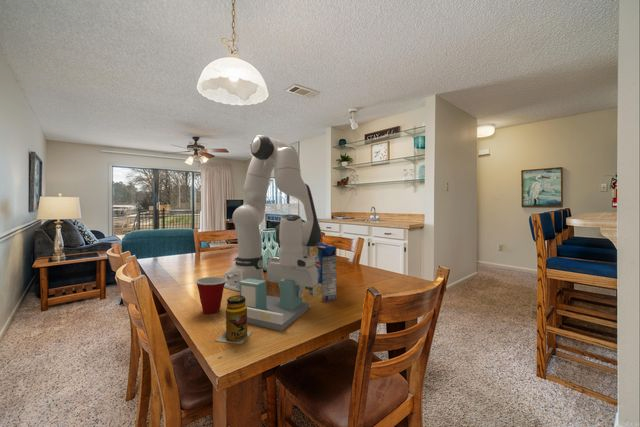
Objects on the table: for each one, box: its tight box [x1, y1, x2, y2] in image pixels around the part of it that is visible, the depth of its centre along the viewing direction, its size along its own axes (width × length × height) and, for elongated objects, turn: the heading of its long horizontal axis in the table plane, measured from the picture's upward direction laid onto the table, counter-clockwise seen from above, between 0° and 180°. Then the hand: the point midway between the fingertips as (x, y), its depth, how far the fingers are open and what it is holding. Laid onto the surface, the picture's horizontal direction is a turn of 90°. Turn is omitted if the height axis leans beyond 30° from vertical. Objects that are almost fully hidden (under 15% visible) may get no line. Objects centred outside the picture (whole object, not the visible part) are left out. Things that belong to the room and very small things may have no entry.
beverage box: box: [309, 242, 338, 303], centre depth 114 cm, size 7×11×22 cm, turn 29°
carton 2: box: [279, 279, 304, 310], centre depth 100 cm, size 8×5×10 cm, turn 156°
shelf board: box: [247, 294, 311, 332], centre depth 97 cm, size 20×20×5 cm
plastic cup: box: [195, 276, 227, 315], centre depth 99 cm, size 11×11×12 cm
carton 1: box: [238, 278, 267, 310], centre depth 96 cm, size 8×5×10 cm, turn 66°
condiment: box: [215, 294, 253, 345], centre depth 81 cm, size 7×8×12 cm
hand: (291, 295), depth 100 cm, fingers closed on carton 2, 5 cm apart
